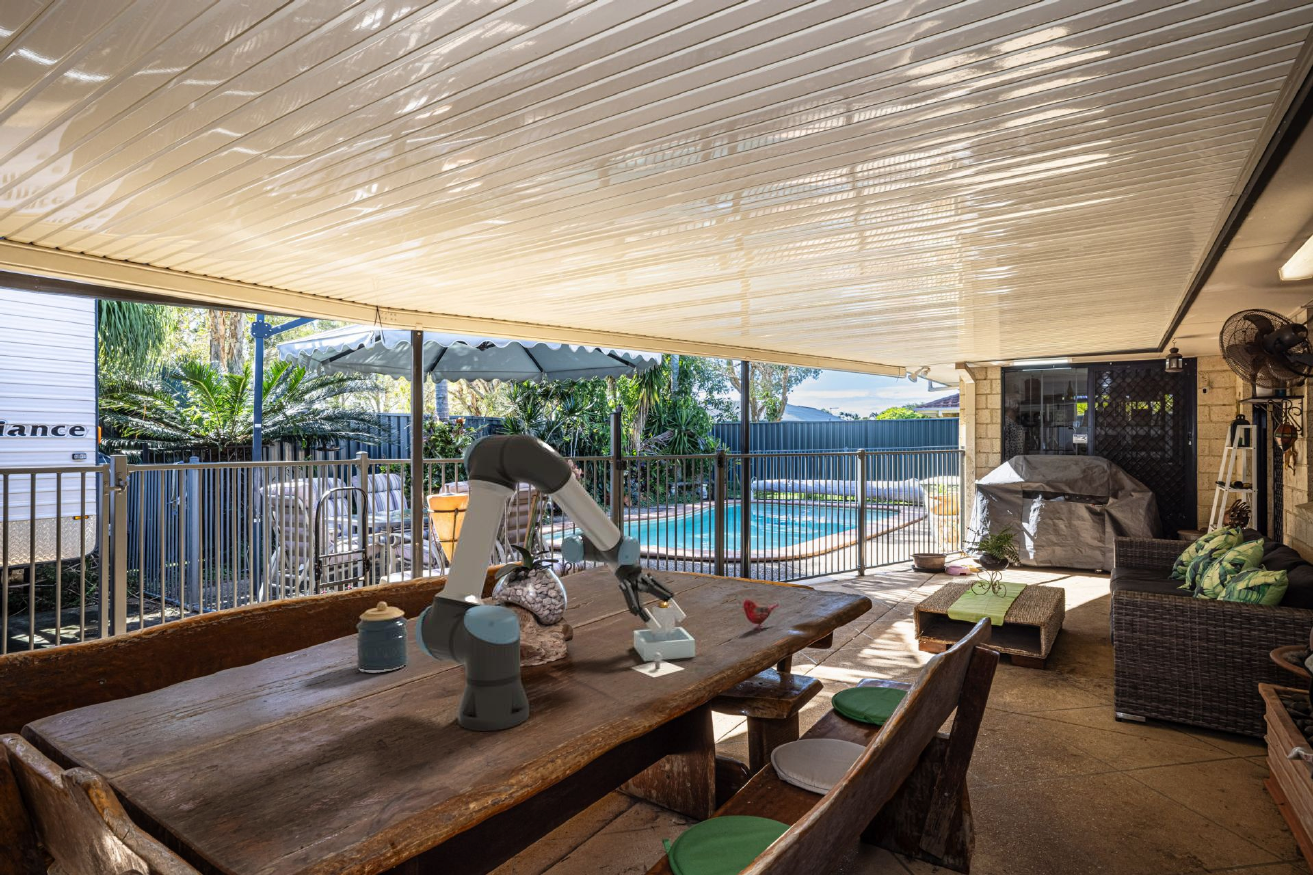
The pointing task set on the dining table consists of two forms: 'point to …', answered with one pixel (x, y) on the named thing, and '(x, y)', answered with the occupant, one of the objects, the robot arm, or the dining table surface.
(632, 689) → the dining table surface
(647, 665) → the stud base
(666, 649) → the bin
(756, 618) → the decorative bird figurine
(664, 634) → the strut
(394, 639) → the canister
